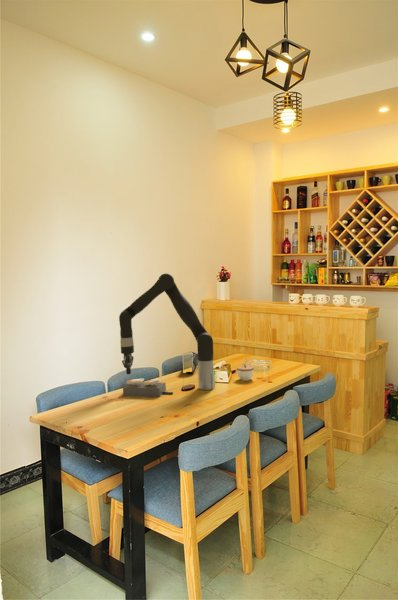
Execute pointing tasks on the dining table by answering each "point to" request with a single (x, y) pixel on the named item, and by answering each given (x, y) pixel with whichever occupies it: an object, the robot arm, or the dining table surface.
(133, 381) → the rocker outer
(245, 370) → the lidded jar
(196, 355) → the clear pitcher
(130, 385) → the switch box
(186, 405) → the dining table surface
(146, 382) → the rocker inner
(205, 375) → the robot arm
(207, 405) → the dining table surface
